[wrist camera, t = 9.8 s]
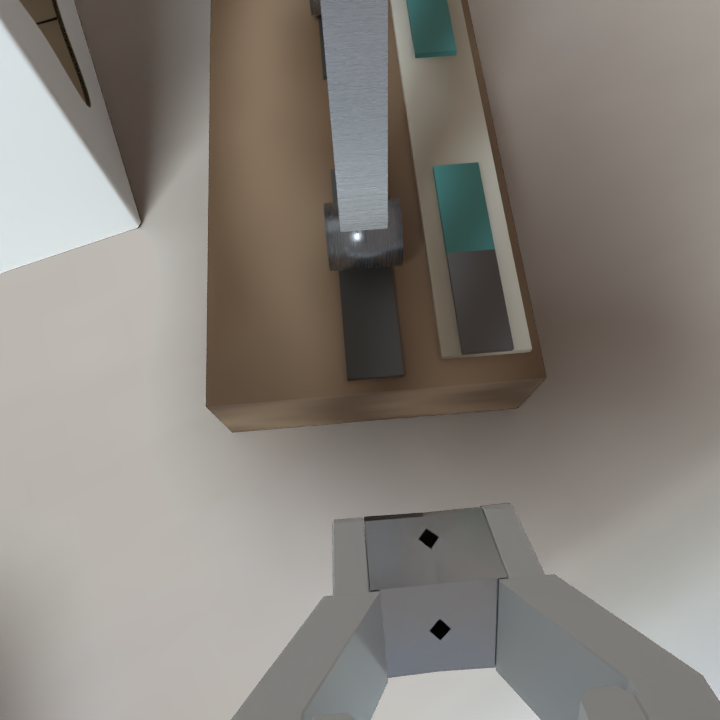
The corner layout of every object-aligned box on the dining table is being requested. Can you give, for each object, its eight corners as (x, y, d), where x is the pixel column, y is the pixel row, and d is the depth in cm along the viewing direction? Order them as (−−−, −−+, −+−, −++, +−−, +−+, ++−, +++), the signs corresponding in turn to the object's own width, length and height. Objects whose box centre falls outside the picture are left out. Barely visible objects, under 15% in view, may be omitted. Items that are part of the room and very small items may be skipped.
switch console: (232, 432, 23) (201, 402, 19) (230, 22, 32) (208, -63, 27) (518, 407, 24) (551, 372, 19) (442, 6, 32) (454, -81, 27)
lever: (323, 293, 20) (239, -336, 9) (320, 234, 22) (248, -347, 11) (412, 286, 20) (444, -348, 9) (401, 227, 22) (416, -358, 11)
